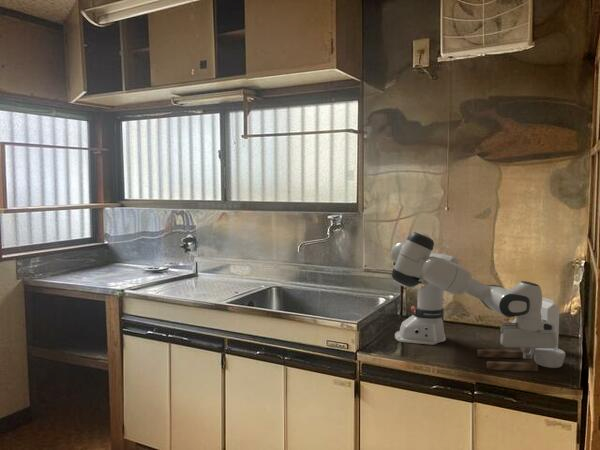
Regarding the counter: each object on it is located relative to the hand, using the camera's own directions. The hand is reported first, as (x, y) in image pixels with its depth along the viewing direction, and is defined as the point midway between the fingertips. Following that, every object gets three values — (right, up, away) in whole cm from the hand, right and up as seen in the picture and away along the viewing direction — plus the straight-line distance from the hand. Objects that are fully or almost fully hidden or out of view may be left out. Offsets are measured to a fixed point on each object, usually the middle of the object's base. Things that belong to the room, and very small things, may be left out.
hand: (527, 358), depth 193 cm
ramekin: (+8, -2, -1) cm, 8 cm away
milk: (+15, -1, +15) cm, 21 cm away
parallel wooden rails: (-8, -2, +1) cm, 8 cm away
